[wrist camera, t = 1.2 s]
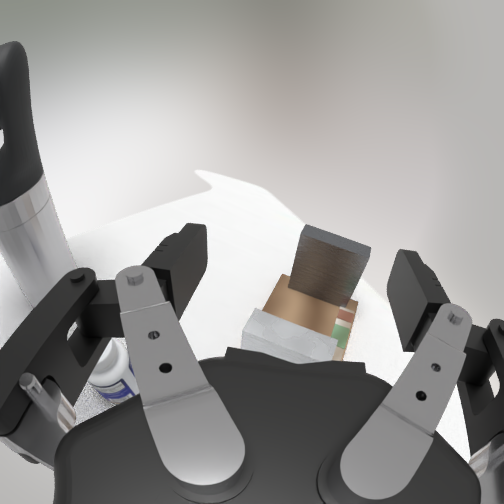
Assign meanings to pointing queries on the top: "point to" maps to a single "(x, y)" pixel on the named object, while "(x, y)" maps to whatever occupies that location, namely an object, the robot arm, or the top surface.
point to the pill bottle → (114, 374)
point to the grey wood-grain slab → (327, 266)
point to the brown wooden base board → (312, 314)
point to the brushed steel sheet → (286, 339)
